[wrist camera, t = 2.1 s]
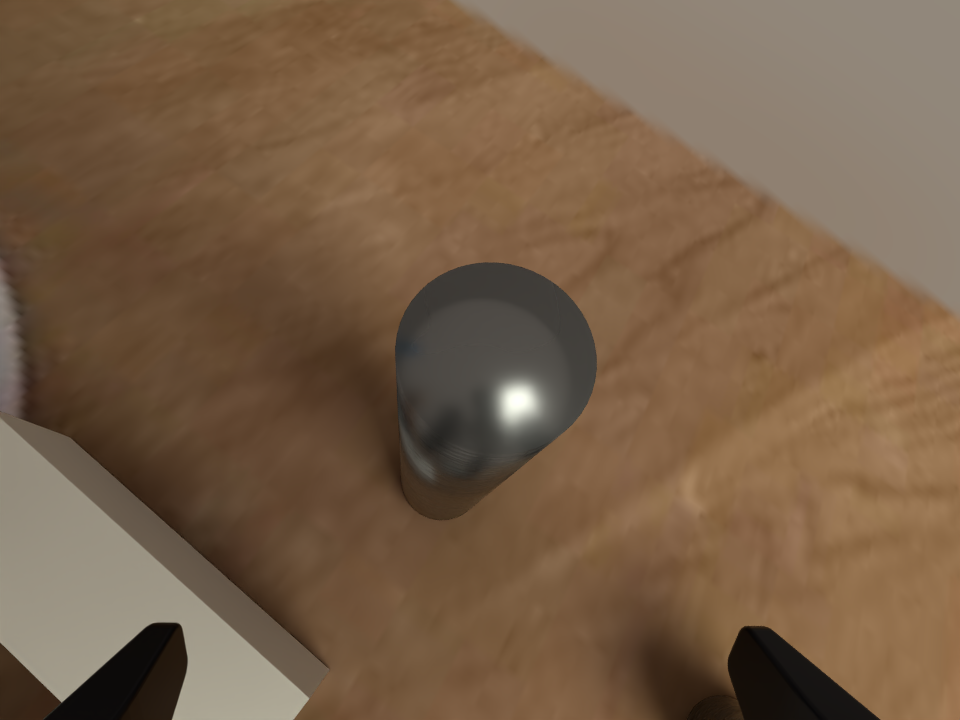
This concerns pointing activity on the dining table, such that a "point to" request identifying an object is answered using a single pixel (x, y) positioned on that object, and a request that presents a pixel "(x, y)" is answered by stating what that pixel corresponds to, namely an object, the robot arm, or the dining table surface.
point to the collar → (126, 588)
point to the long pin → (485, 381)
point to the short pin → (716, 709)
